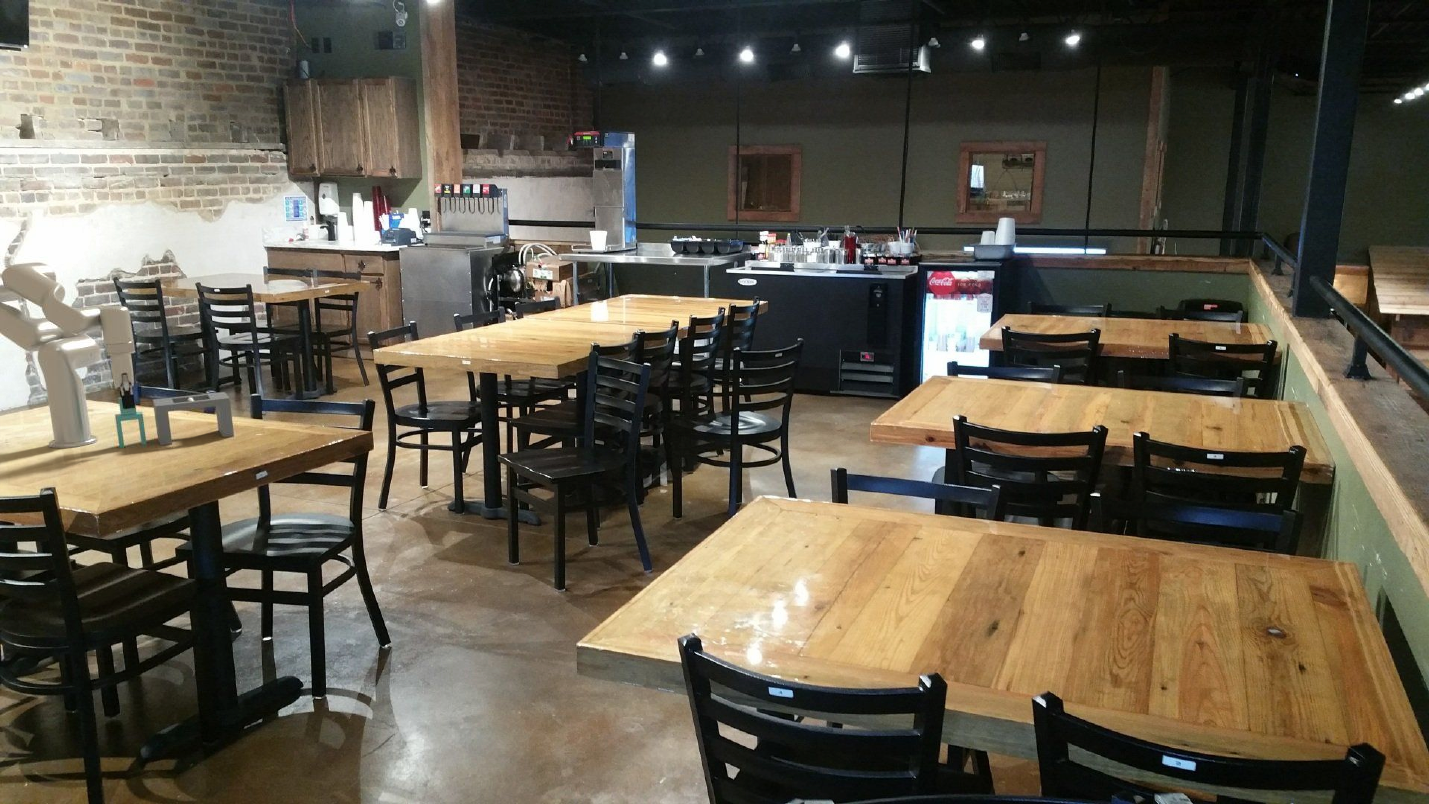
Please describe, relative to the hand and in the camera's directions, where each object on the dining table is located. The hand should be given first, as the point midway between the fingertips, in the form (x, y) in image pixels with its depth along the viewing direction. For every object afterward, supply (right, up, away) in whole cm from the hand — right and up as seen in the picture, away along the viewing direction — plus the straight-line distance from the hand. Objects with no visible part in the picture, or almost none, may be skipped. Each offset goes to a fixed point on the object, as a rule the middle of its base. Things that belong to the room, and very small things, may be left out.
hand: (128, 405), depth 304 cm
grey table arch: (+14, -10, +11) cm, 21 cm away
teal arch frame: (0, -12, +3) cm, 12 cm away
